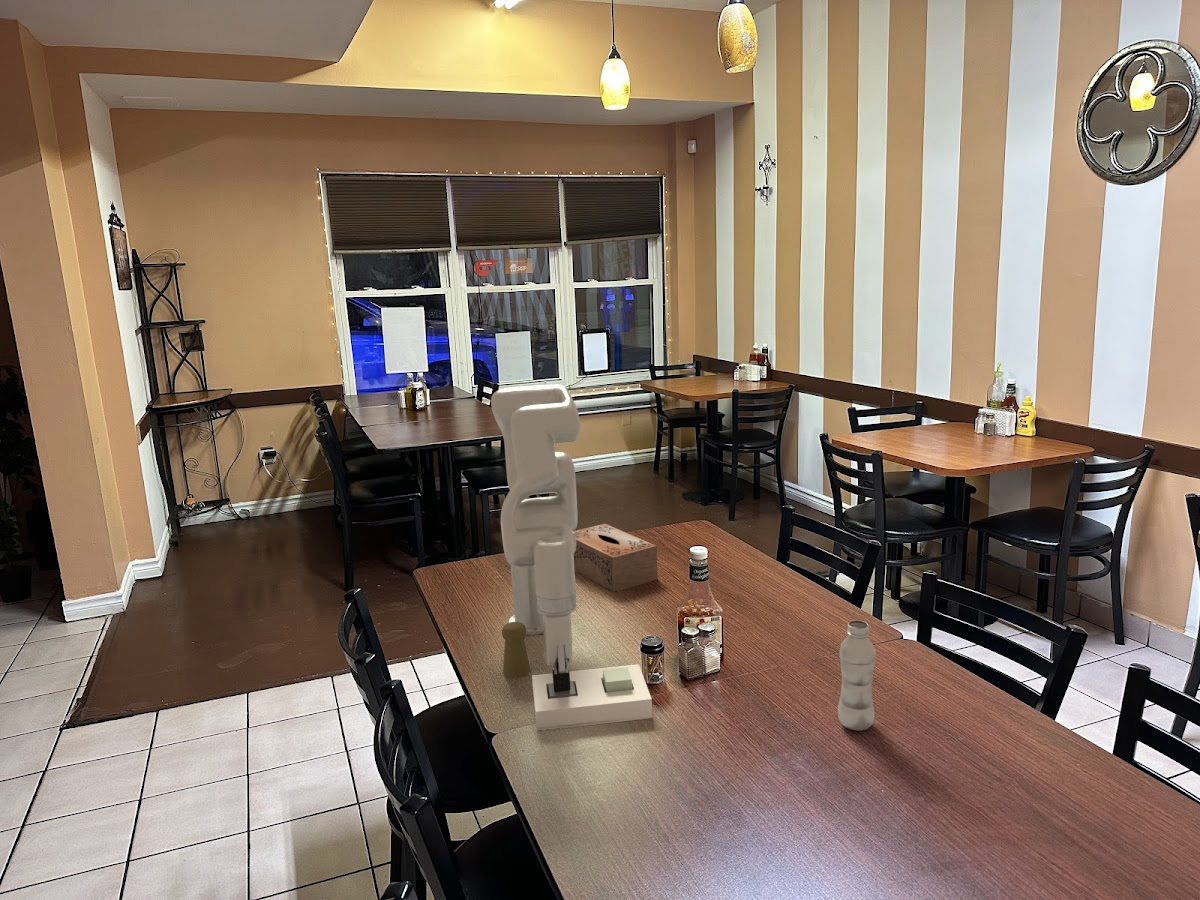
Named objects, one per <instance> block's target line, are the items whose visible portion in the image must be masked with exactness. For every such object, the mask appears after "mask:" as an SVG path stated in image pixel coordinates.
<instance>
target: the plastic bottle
mask: <svg viewBox="0 0 1200 900" xmlns="http://www.w3.org/2000/svg"><path fill="white" fill-rule="evenodd" d="M846 633H847V637H846V638H845V639H844V640H843V641H842V642H841V644H840V647H839V653H838V654H839V660H840V661H839V662H840V670H841V672H840V673H841V688H840V697H839V701H838V706H837V716H838V720H839V722H840V723H841V725H842V726H843V727H845V728H846V729H848V730H851V731H857V732H858V731H859V732H861V731H865V730H868V729H869V728H870V727H871V726H872V725H873V723H874V719H875V715H876V714H875V708H874V702H873V689H872V688H873V687H872V685H873V675H874V669H875V664H876V658H877V651H876V648H875V646H874V644H873V642H872V641H871V640H870V638H869V636H870V625H869V623H868V622H866V621H863V620H860V619H853V620H850V621H849V622H848V623H847V630H846Z"/></svg>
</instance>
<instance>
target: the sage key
mask: <svg viewBox="0 0 1200 900" xmlns="http://www.w3.org/2000/svg"><path fill="white" fill-rule="evenodd" d="M603 684H604V688H605V691H606V693H608V692H617V691H626V690H632V679H631V676H630V673H629V670H628V667H625V668H615V669H606V670H603Z"/></svg>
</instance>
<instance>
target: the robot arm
mask: <svg viewBox="0 0 1200 900" xmlns="http://www.w3.org/2000/svg"><path fill="white" fill-rule="evenodd" d="M490 399H491V400H490V405H491V410H492V414H493V416H494V420H495V421H496V424H497V425H498V428H499V429H500V432H501V435H502V438H503V441H504V442H503V443H504V455H505V468H506V479H507V485H508V489H509V491H508V493H507V495H506V497H505V499H504V501H503V504H502V506H501V512H500V528H501V529H500V530H501V537H502V546H503V552H504V556H505V560H506V561H507V563H508V564H509V565H510V572H511V573H510V574H511V584H512V598H513V599H512V601H513V614H514V615H512V616H511V617H510V618H509V620H508V623H510V622H520V623H523V624H524V625H525V627H526V636H527V635H530V636H531V635H532V636H537V635H541V634H542V635H543V647H544V656H545V663H546V664H547V665H548V667H549V666H552V667H553V669H552V673H553V687H554V691H555V692H559V691H569V690H570V673H569V671H570V668H569V664H571V663H573V633H572V632H573V630H572V629H573V628H572V613H573V612H575V611H576V609H577V591H576V590H577V589H576V574H575V572H576V571H575V570H574V552H575V551H576V536H575V533H574V531H577V530H576V529H577V527H578V499H577V496H578V495H577V481H576V480H577V479H576V478H577V477H576V470H575V465H574V461H573V459H572V456H571V455H569V454H568V453H567V452H563V451H556V447H555V444H562V443H572V442H575V441H576V440H577V439H579V436H580V434H581V418H580V414H579V410H578V408H577V406H576V403H575V402H574V399H573V397H572V395H571V393H570V391H569V389H568V388H567V386H565V385H564V384H544V385H542V384H541V385H530V386H529V385H527V386H526V385H524V386H513V387H507V388H502V389H498V390H497V391H495V392H494V393H493V394H492V396H491V398H490ZM553 493H554V494H556V495H554V496H542V497H539V496H538V497H532V498H531V497H530V496H533V495H542V494H543V495H544V494H553ZM529 497H530V498H529Z"/></svg>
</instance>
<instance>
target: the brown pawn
mask: <svg viewBox="0 0 1200 900" xmlns="http://www.w3.org/2000/svg"><path fill="white" fill-rule="evenodd" d="M501 635H502V638H503V640H504V653H503V665H502V675H503V676H504V677H506V678H509V679H522V678H524V677H527V676H528V675H530V673H531V672H532V667H531V664H530V659H529V653H528V650H527V644H526V640H525V638H526V636H527V635H526V627H525V625H524V624H523V623H520V622H510V623H509V622H507V623H505V624H504V625H503V627H502V630H501Z"/></svg>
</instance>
